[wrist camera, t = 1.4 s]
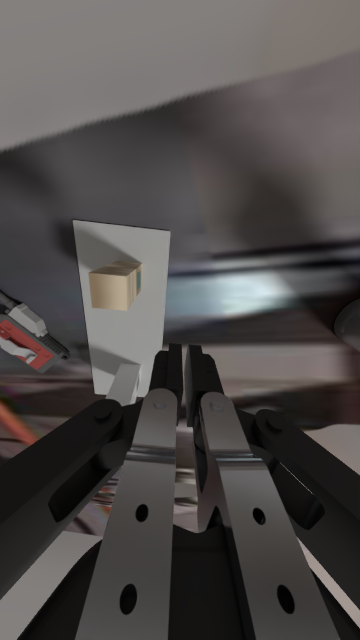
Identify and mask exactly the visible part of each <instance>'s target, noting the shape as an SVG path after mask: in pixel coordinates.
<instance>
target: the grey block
mask: <svg viewBox="0 0 360 640" xmlns="http://www.w3.org/2000/svg"><path fill="white" fill-rule="evenodd" d="M140 380H141V365H138V364H124V363H121V365H120V367H119V369H118V371H117V374H116V376H115V378H114V380H113V383H112V385H111V387H110V390H109V392H108V394H107V396H106V399H114V400H116V401H118V402H119V403H120V404H121V406H125V405H130V404H134V403H135V400H136V396H137V392H138V388H139V384H140Z"/></svg>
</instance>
